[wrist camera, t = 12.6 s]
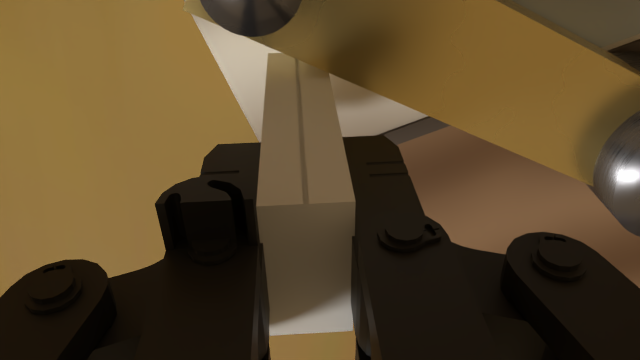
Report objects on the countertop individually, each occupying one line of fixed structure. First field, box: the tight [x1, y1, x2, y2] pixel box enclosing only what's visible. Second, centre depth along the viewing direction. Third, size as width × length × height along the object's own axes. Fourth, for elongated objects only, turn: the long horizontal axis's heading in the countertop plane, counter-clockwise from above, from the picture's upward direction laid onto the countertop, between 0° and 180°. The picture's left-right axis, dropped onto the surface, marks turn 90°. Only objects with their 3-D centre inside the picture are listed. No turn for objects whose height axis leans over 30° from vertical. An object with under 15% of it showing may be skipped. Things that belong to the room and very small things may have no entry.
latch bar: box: [183, 0, 640, 237], centre depth 12 cm, size 14×4×4 cm, turn 65°
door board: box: [184, 0, 640, 288], centre depth 15 cm, size 28×16×5 cm, turn 21°
